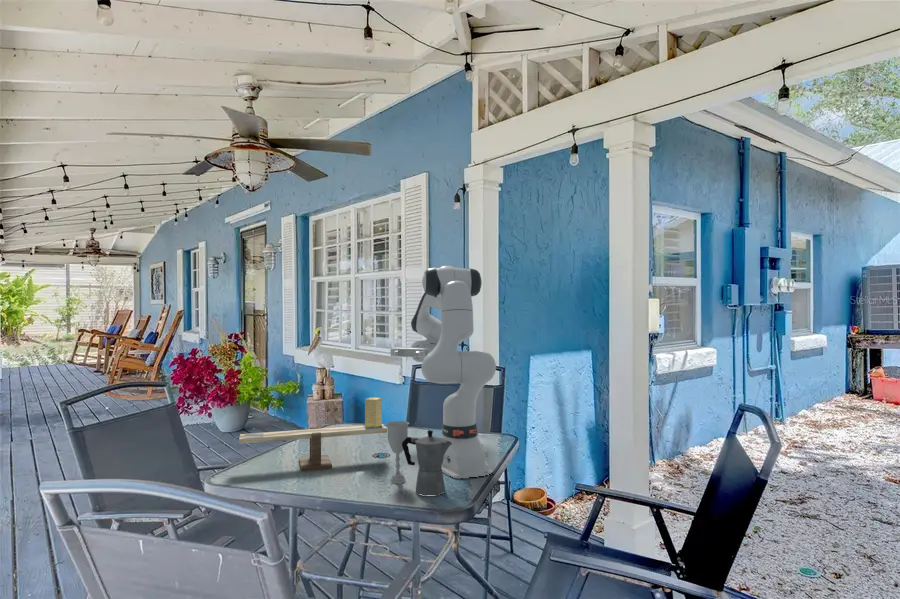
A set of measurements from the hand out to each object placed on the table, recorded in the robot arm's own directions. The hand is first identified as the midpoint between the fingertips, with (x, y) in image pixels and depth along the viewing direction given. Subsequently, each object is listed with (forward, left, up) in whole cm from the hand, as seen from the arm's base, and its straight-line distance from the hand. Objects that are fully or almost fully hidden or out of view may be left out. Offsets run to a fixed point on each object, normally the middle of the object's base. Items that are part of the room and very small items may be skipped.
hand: (406, 353), depth 213 cm
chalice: (-42, +13, -36) cm, 57 cm away
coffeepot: (-54, +7, -36) cm, 66 cm away
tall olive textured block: (-15, +16, -24) cm, 33 cm away
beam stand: (-15, +36, -36) cm, 53 cm away
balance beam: (-15, +36, -26) cm, 47 cm away
